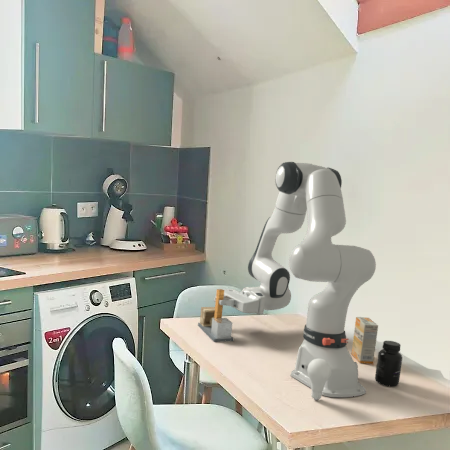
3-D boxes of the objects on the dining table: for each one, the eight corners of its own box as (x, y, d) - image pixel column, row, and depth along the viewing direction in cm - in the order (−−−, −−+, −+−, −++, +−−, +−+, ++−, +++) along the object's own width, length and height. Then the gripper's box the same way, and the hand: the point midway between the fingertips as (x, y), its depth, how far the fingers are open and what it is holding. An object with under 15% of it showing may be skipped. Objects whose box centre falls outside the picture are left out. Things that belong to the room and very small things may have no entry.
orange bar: (228, 335, 178) (232, 294, 176) (218, 335, 176) (222, 294, 175) (218, 326, 187) (222, 287, 185) (209, 326, 186) (212, 287, 184)
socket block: (218, 326, 190) (220, 310, 189) (203, 326, 188) (204, 310, 187) (215, 322, 194) (216, 306, 193) (199, 323, 191) (201, 307, 191)
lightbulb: (325, 406, 134) (330, 365, 132) (302, 401, 136) (306, 360, 134) (329, 397, 139) (333, 357, 138) (306, 392, 141) (310, 353, 140)
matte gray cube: (231, 338, 177) (232, 322, 177) (216, 338, 176) (218, 323, 175) (225, 332, 183) (226, 317, 182) (211, 333, 181) (212, 318, 180)
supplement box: (350, 354, 176) (355, 316, 174) (364, 355, 176) (369, 317, 175) (359, 363, 168) (364, 323, 166) (373, 364, 168) (378, 324, 167)
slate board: (233, 341, 178) (233, 338, 178) (213, 341, 175) (214, 339, 175) (215, 325, 194) (216, 322, 194) (197, 325, 192) (198, 322, 192)
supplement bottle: (400, 389, 150) (405, 348, 149) (375, 385, 151) (380, 344, 150) (397, 380, 157) (402, 341, 155) (373, 376, 158) (378, 337, 157)
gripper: (236, 283, 197) (204, 285, 190) (267, 297, 180) (233, 299, 173) (234, 300, 198) (202, 302, 191) (265, 315, 181) (231, 318, 173)
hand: (217, 301), depth 182 cm, fingers closed on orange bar, 2 cm apart
